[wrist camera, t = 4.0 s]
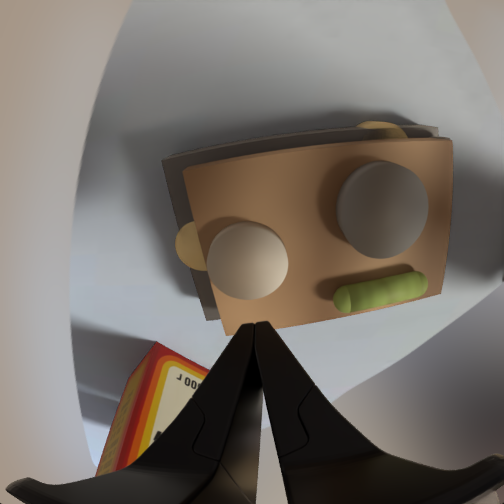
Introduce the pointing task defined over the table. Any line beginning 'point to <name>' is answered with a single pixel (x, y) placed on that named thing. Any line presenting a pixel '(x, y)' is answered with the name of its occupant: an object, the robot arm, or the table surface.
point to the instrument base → (176, 163)
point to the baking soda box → (149, 405)
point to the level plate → (323, 228)
